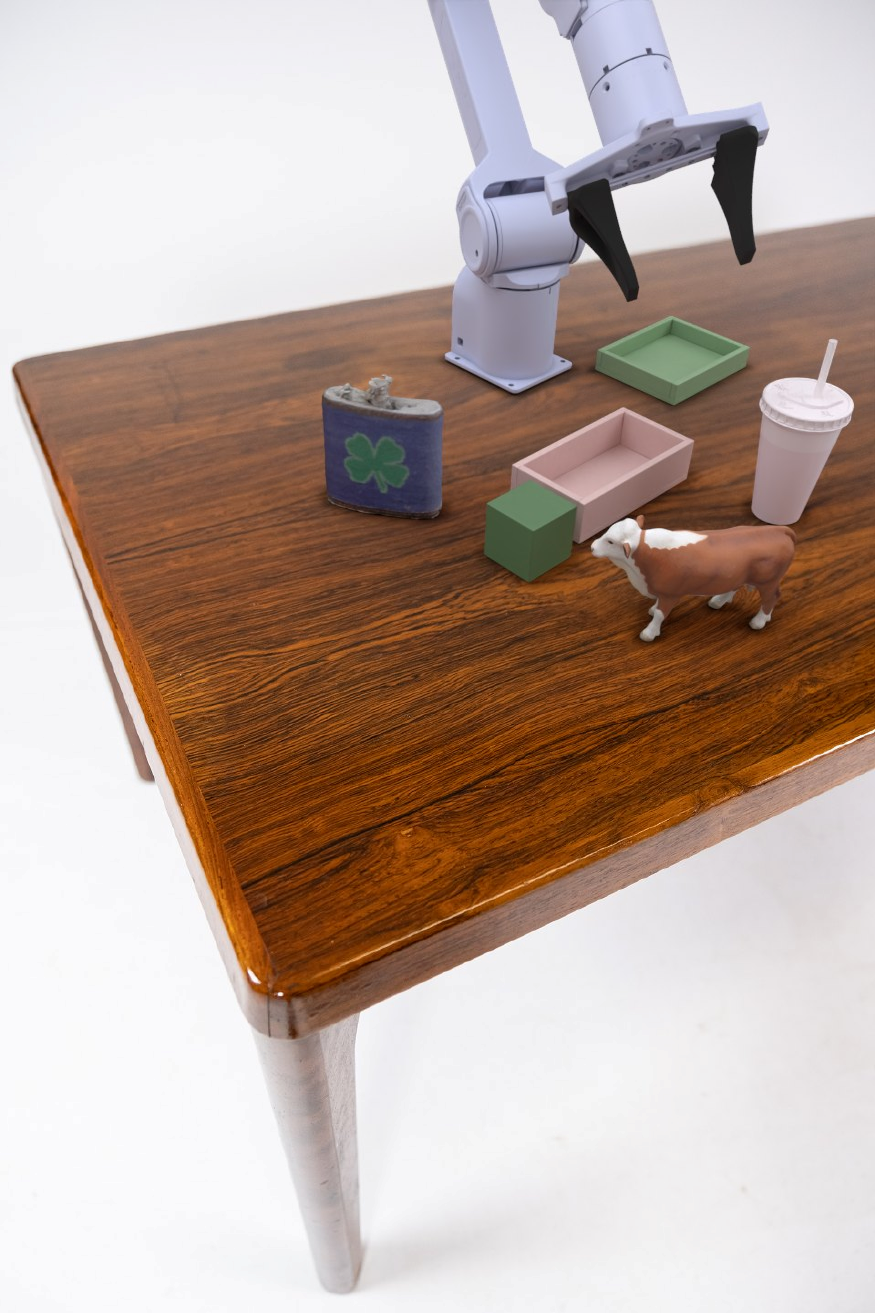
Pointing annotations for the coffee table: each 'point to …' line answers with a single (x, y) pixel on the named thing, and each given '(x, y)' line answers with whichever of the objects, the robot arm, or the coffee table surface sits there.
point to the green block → (529, 530)
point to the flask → (382, 451)
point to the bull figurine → (699, 564)
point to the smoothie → (796, 441)
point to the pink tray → (609, 468)
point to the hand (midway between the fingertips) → (690, 276)
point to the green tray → (672, 359)
